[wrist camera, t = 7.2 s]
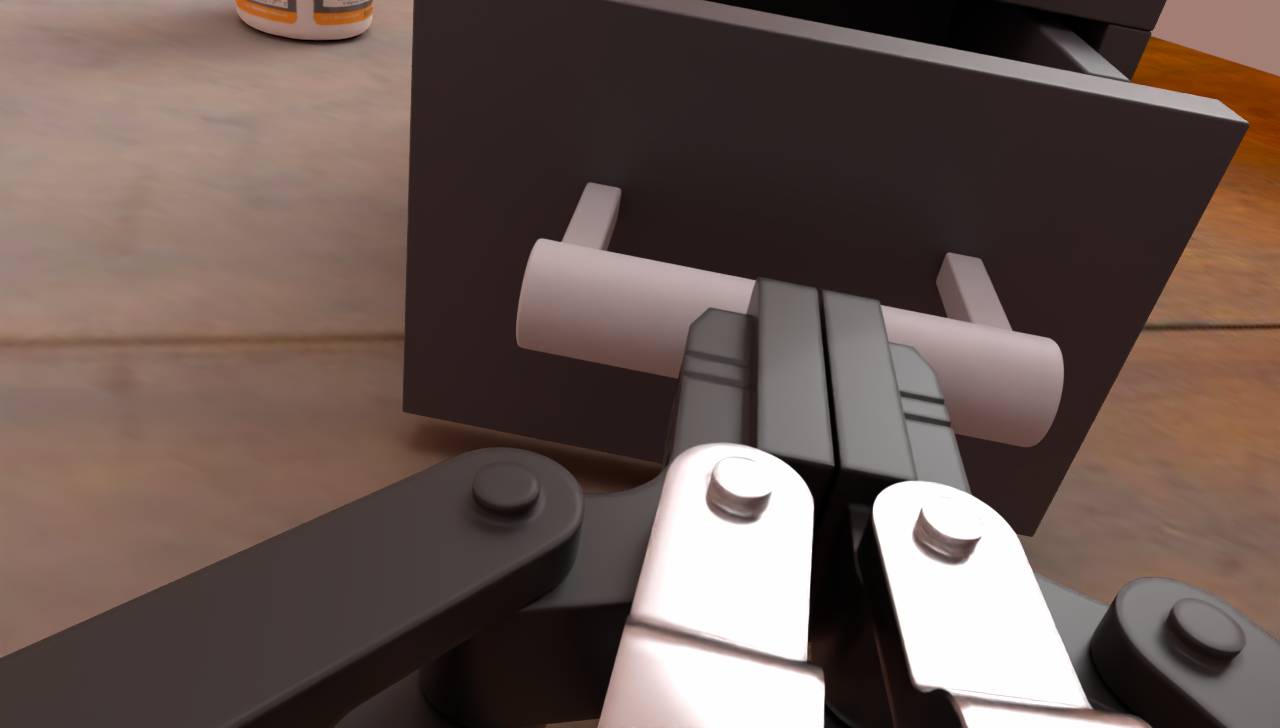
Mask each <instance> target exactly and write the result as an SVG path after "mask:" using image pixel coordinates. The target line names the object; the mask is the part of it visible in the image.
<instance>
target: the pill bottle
mask: <svg viewBox="0 0 1280 728" xmlns="http://www.w3.org/2000/svg"><path fill="white" fill-rule="evenodd" d="M235 2H236V9H237V13H238V14H239V16H240V18H241V19H242V20H243V21H244V22H245V23H247V24H248V25H250V26H251V27H253V28H255V29H257V30H260V31H263V32H266V33H269V34H274V35H278V36H283V37H288V38H294V39H303V40H334V39H344V38H349V37H353V36H356V35H359V34H361V33H363V32H365V31H366V30H367V29H368V28H369V27H370V25H371V22H372V9H373V0H235Z"/></svg>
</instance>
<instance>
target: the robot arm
mask: <svg viewBox="0 0 1280 728" xmlns="http://www.w3.org/2000/svg"><path fill="white" fill-rule="evenodd" d="M944 401H945V399H944V395H943V392H942V388H941V385H940V381H939V378H938V374H937V372H936V371H935V370H934V369H933V368H932V367H931V366H930V365H929V363H928V362H927V361H926V360H925V359H924V358H923V357H922V356H921V354H920V353H919V352H918V351H917V350H916V349H915V348H914V347H912V346H907V345H902V344H897V343H892V342H889V341H888V336H887V331H886V327H885V322H884V317H883V313H882V308H881V304H880V301H879V300H876V299H871V298H866V297H861V296H856V295H851V294H845V293H840V292H835V291H830V290H825V289H819V290H818V291H817V289H816V288H814V287H809V286H803V285H798V284H793V283H788V282H783V281H778V280H773V279H768V278H762V277H757V279H756V281H755V284H754V287H753V291H752V294H751V298H750V302H749V306H748V309H747V313H746V314H742V313H737V312H732V311H727V310H722V309H717V308H712V307H709V308H708V309H707V310H706V311H705V312H704V313H702V314H701V315H700V316H699V317H698V318H697V319H696V320H695V321H694V322H693V323H692V324H690V326H689V331H688V336H687V340H686V345H685V349H684V354H683V358H682V363H681V367H680V372H679V377H678V381H677V386H676V390H675V395H674V399H673V404H672V408H671V413H670V418H669V422H668V428H667V435H666V442H665V449H664V456H663V462H662V469H661V474H659V475H658V476H657V477H655V478H654V479H653V480H651V481H649V482H647V483H645V484H643V485H641V486H638V487H635V488H633V489H629V490H624V491H620V492H611V493H594V494H583V491H582V489H581V487H580V485H579V483H578V482H577V480H576V479H575V478H574V476H573V475H572V474H571V473H570V472H569V471H568V470H567V469H565V468H564V467H563V466H561V465H560V464H558V463H557V462H555V461H553V460H552V459H550V458H548V457H546V456H543V455H540V454H538V453H535V452H532V451H527V450H523V449H517V448H509V447H491V448H481V449H477V450H472V451H468V452H465V453H462V454H460V455H457V456H455V457H452V458H450V459H448V460H446V461H443V462H441V463H439V464H437V465H434V466H432V467H430V468H428V469H425V470H423V471H421V472H419V473H416V474H414V475H412V476H410V477H407V478H405V479H403V480H401V481H398V482H396V483H394V484H392V485H389V486H387V487H385V488H383V489H380V490H378V491H376V492H374V493H371V494H369V495H367V496H365V497H362V498H360V499H358V500H356V501H353V502H351V503H349V504H347V505H344V506H342V507H340V508H338V509H335V510H333V511H331V512H329V513H326V514H324V515H322V516H320V517H317V518H315V519H313V520H311V521H308V522H306V523H304V524H302V525H299V526H297V527H295V528H293V529H290V530H288V531H286V532H284V533H281V534H279V535H277V536H275V537H272V538H270V539H268V540H266V541H263V542H261V543H259V544H257V545H254V546H252V547H250V548H248V549H245V550H243V551H241V552H239V553H236V554H234V555H232V556H230V557H227V558H225V559H223V560H221V561H218V562H216V563H214V564H212V565H209V566H207V567H205V568H203V569H200V570H198V571H196V572H194V573H191V574H189V575H187V576H185V577H182V578H180V579H178V580H176V581H173V582H171V583H169V584H167V585H164V586H162V587H160V588H158V589H155V590H153V591H151V592H149V593H146V594H144V595H142V596H140V597H137V598H135V599H133V600H131V601H128V602H126V603H124V604H122V605H119V606H117V607H115V608H113V609H110V610H108V611H106V612H104V613H101V614H99V615H97V616H95V617H92V618H90V619H88V620H86V621H83V622H81V623H79V624H77V625H74V626H72V627H70V628H68V629H65V630H63V631H61V632H59V633H56V634H54V635H52V636H50V637H47V638H45V639H43V640H41V641H38V642H36V643H34V644H32V645H29V646H27V647H25V648H23V649H20V650H18V651H16V652H14V653H11V654H9V655H7V656H5V657H2V658H0V728H545V727H546V725H547V724H553V723H562V722H571V721H580V720H589V719H598V718H600V721H599V724H598V728H1280V641H1279V640H1277V639H1276V638H1275V637H1273V636H1272V635H1271V634H1269V633H1268V632H1267V631H1265V630H1264V629H1263V628H1261V627H1260V626H1259V625H1258V624H1256V623H1255V622H1254V621H1252V620H1251V619H1250V618H1248V617H1247V616H1246V615H1244V614H1243V613H1242V612H1240V611H1239V610H1237V609H1236V608H1234V607H1233V606H1232V605H1230V604H1229V603H1227V602H1225V601H1224V600H1222V599H1220V598H1218V597H1217V596H1215V595H1213V594H1211V593H1209V592H1207V591H1205V590H1203V589H1201V588H1198V587H1195V586H1193V585H1190V584H1187V583H1184V582H1180V581H1177V580H1173V579H1167V578H1161V577H1145V578H1138V579H1135V580H1133V581H1130V582H1128V583H1127V584H1126V585H1124V586H1123V587H1122V588H1121V590H1120V591H1119V592H1118V594H1117V596H1116V597H1115V599H1114V600H1113V602H1112V604H1111V605H1109V604H1106V603H1104V602H1102V601H1099V600H1097V599H1095V598H1092V597H1090V596H1088V595H1085V594H1083V593H1081V592H1078V591H1076V590H1073V589H1071V588H1069V587H1066V586H1064V585H1062V584H1059V583H1057V582H1055V581H1052V580H1050V579H1048V578H1046V577H1044V576H1042V575H1040V574H1038V573H1036V572H1035V571H1033V570H1032V569H1031V567H1030V565H1029V562H1028V560H1027V558H1026V555H1025V553H1024V551H1023V548H1022V546H1021V544H1020V541H1019V539H1018V537H1017V536H1016V534H1015V532H1014V531H1013V529H1012V528H1011V527H1010V525H1009V524H1008V523H1007V522H1006V521H1005V520H1004V519H1003V518H1002V517H1001V516H1000V515H999V514H998V513H997V512H996V511H994V510H993V509H992V508H991V507H989V506H988V505H986V504H985V503H983V502H982V501H980V500H979V499H977V498H975V497H973V496H972V494H971V491H970V487H969V484H968V480H967V477H966V473H965V470H964V466H963V462H962V459H961V455H960V452H959V448H958V445H957V441H956V438H955V434H954V431H953V428H951V427H950V424H951V420H950V417H949V413H948V410H947V406H946V405H944ZM808 642H811V655H812V662H809V661H807V643H808Z"/></svg>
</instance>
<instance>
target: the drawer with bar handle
mask: <svg viewBox="0 0 1280 728" xmlns="http://www.w3.org/2000/svg"><path fill="white" fill-rule="evenodd" d="M1248 128H1249V123H1248V122H1247V121H1246V120H1244V119H1243V118H1241V117H1240V116H1239V115H1237V114H1236V113H1235V112H1233V111H1232V110H1231V109H1229V108H1228V107H1226V106H1225V105H1224V104H1222V103H1221V102H1220V101H1218V100H1215V99H1210V98H1205V97H1200V96H1195V95H1189V94H1184V93H1179V92H1174V91H1169V90H1164V89H1158V88H1153V87H1148V86H1143V85H1138V84H1133V83H1130V80H1129V79H1128V78H1126V77H1125V76H1124V75H1123V74H1122V73H1121V72H1119V71H1118V70H1117V69H1116V68H1115V67H1114V66H1112V65H1111V64H1110V63H1109V62H1108V61H1107V60H1105V59H1104V58H1103V57H1102V56H1101V55H1100V54H1098V53H1097V52H1096V51H1095V50H1094V49H1093V48H1091V47H1090V46H1089V45H1088V44H1087V43H1086V42H1084V41H1083V40H1082V39H1081V38H1080V37H1079V36H1077V35H1076V34H1075V33H1074V32H1073V31H1072V30H1070V29H1069V28H1068V27H1067V26H1066V25H1065V24H1063V23H1062V22H1061V21H1060V20H1059V19H1058V18H1056V17H1055V16H1054V15H1053V14H1052V13H1051V12H1048V11H1043V10H1038V9H1033V8H1028V7H1022V6H1017V5H1012V4H1007V3H1002V2H997V1H991V0H414V7H413V44H412V81H411V118H410V154H409V191H408V228H407V265H406V302H405V339H404V376H403V412H406V413H411V414H416V415H421V416H426V417H431V418H436V419H442V420H447V421H452V422H457V423H462V424H467V425H472V426H477V427H482V428H487V429H492V430H497V431H502V432H507V433H512V434H517V435H522V436H527V437H532V438H537V439H542V440H547V441H552V442H557V443H562V444H567V445H572V446H577V447H582V448H587V449H592V450H597V451H602V452H607V453H612V454H618V455H623V456H628V457H633V458H638V459H643V460H648V461H653V462H658V463H662V462H663V456H664V449H665V442H666V435H667V428H668V422H669V418H670V413H671V408H672V404H673V399H674V395H675V390H676V386H677V381H678V377H679V372H680V367H681V363H682V358H683V354H684V349H685V345H686V340H687V336H688V331H689V326H690V324H692V323H693V322H694V321H695V320H696V319H697V318H698V317H699V316H700V315H701V314H702V313H704V312H705V311H706V310H707V309H708V308H709V307H712V308H717V309H722V310H727V311H732V312H737V313H742V314H746V313H747V309H748V306H749V302H750V298H751V294H752V291H753V287H754V284H755V281H756V279H757V277H762V278H768V279H773V280H778V281H783V282H788V283H793V284H798V285H803V286H809V287H814V288H816V289H817V291H818V290H819V289H825V290H830V291H835V292H840V293H845V294H851V295H856V296H861V297H866V298H871V299H876V300H879V301H880V304H881V308H882V313H883V317H884V322H885V327H886V331H887V336H888V341H889V342H892V343H897V344H902V345H907V346H912V347H914V348H915V349H916V350H917V351H918V352H919V353H920V354H921V356H922V357H923V358H924V359H925V360H926V361H927V362H928V363H929V365H930V366H931V367H932V368H933V369H934V370H935V371H936V372H937V374H938V378H939V381H940V385H941V388H942V392H943V395H944V399H945V401H944V405H946V406H947V410H948V413H949V417H950V420H951V424H950V427H951V428H953V431H954V434H955V438H956V441H957V445H958V448H959V452H960V455H961V459H962V462H963V466H964V470H965V473H966V477H967V480H968V484H969V487H970V491H971V494H972V496H973V497H975V498H977V499H979V500H980V501H982V502H983V503H985V504H986V505H988V506H989V507H991V508H992V509H993V510H994V511H996V512H997V513H998V514H999V515H1000V516H1001V517H1002V518H1003V519H1004V520H1005V521H1006V522H1007V523H1008V524H1009V525H1010V527H1011V528H1012V529H1013V531H1014V532H1015V534H1020V535H1025V536H1030V537H1032V536H1033V535H1034V533H1035V532H1036V530H1037V528H1038V526H1039V524H1040V522H1041V520H1042V518H1043V516H1044V514H1045V513H1046V511H1047V509H1048V507H1049V505H1050V503H1051V501H1052V499H1053V497H1054V495H1055V494H1056V492H1057V490H1058V488H1059V486H1060V484H1061V482H1062V480H1063V478H1064V477H1065V475H1066V473H1067V471H1068V469H1069V467H1070V465H1071V463H1072V461H1073V459H1074V458H1075V456H1076V454H1077V452H1078V450H1079V448H1080V446H1081V444H1082V442H1083V441H1084V439H1085V437H1086V435H1087V433H1088V431H1089V429H1090V427H1091V425H1092V423H1093V422H1094V420H1095V418H1096V416H1097V414H1098V412H1099V410H1100V408H1101V406H1102V404H1103V403H1104V401H1105V399H1106V397H1107V395H1108V393H1109V391H1110V389H1111V387H1112V386H1113V384H1114V382H1115V380H1116V378H1117V376H1118V374H1119V372H1120V370H1121V368H1122V367H1123V365H1124V363H1125V361H1126V359H1127V357H1128V355H1129V353H1130V351H1131V349H1132V348H1133V346H1134V344H1135V342H1136V340H1137V338H1138V336H1139V334H1140V332H1141V331H1142V329H1143V327H1144V325H1145V323H1146V321H1147V319H1148V317H1149V315H1150V313H1151V312H1152V310H1153V308H1154V306H1155V304H1156V302H1157V300H1158V298H1159V296H1160V294H1161V293H1162V291H1163V289H1164V287H1165V285H1166V283H1167V281H1168V279H1169V277H1170V276H1171V274H1172V272H1173V270H1174V268H1175V266H1176V264H1177V262H1178V260H1179V258H1180V257H1181V255H1182V253H1183V251H1184V249H1185V247H1186V245H1187V243H1188V241H1189V239H1190V238H1191V236H1192V234H1193V232H1194V230H1195V228H1196V226H1197V224H1198V222H1199V221H1200V219H1201V217H1202V215H1203V213H1204V211H1205V209H1206V207H1207V205H1208V203H1209V202H1210V200H1211V198H1212V196H1213V194H1214V192H1215V190H1216V188H1217V186H1218V184H1219V183H1220V181H1221V179H1222V177H1223V175H1224V173H1225V171H1226V169H1227V167H1228V166H1229V164H1230V162H1231V160H1232V158H1233V156H1234V154H1235V152H1236V150H1237V148H1238V147H1239V145H1240V143H1241V141H1242V139H1243V137H1244V135H1245V133H1246V131H1247V129H1248Z"/></svg>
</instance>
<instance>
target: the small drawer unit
mask: <svg viewBox="0 0 1280 728" xmlns="http://www.w3.org/2000/svg"><path fill="white" fill-rule="evenodd" d="M991 1H997V2H1002V3H1007V4H1012V5H1017V6H1022V7H1028V8H1033V9H1038V10H1043V11H1048V12H1051V13H1052V14H1053V15H1054V16H1055V17H1056V18H1058V19H1059V20H1060V21H1061V22H1062V23H1063V24H1065V25H1066V26H1067V27H1068V28H1069V29H1070V30H1072V31H1073V32H1074V33H1075V34H1076V35H1077V36H1079V37H1080V38H1081V39H1082V40H1083V41H1084V42H1086V43H1087V44H1088V45H1089V46H1090V47H1091V48H1093V49H1094V50H1095V51H1096V52H1097V53H1098V54H1100V55H1101V56H1102V57H1103V58H1104V59H1105V60H1107V61H1108V62H1109V63H1110V64H1111V65H1112V66H1114V67H1115V68H1116V69H1117V70H1118V71H1119V72H1121V73H1122V74H1123V75H1124V76H1125V77H1126V78H1128V79H1129V80H1130V81H1131V79H1132V77H1133V75H1134V72H1135V70H1136V68H1137V66H1138V63H1139V61H1140V59H1141V57H1142V54H1143V52H1144V50H1145V48H1146V45H1147V43H1148V41H1149V39H1150V36H1151V32H1150V31H1153V29H1154V27H1155V25H1156V23H1157V21H1158V18H1159V16H1160V14H1161V12H1162V9H1163V7H1164V5H1165V3H1166V0H991Z"/></svg>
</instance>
